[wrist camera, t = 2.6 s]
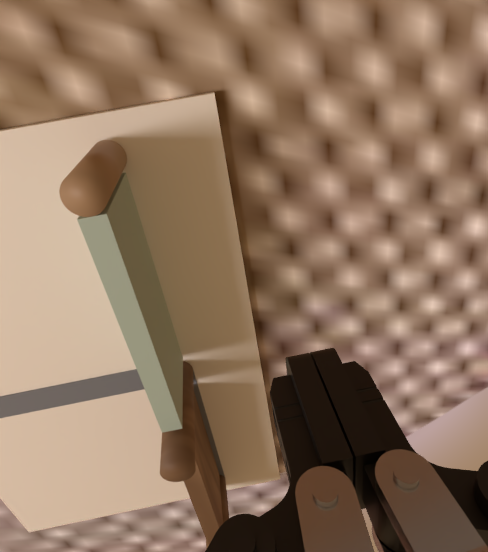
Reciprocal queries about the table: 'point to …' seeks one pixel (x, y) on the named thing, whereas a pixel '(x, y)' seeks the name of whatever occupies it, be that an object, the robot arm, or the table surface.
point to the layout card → (103, 323)
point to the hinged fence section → (128, 274)
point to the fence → (195, 462)
